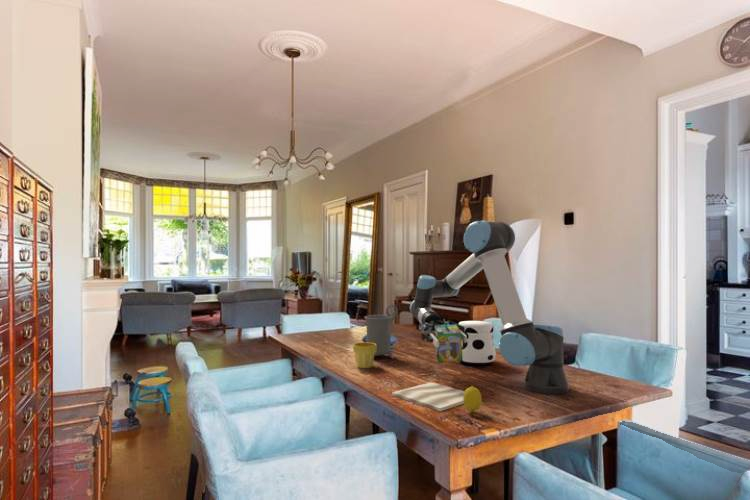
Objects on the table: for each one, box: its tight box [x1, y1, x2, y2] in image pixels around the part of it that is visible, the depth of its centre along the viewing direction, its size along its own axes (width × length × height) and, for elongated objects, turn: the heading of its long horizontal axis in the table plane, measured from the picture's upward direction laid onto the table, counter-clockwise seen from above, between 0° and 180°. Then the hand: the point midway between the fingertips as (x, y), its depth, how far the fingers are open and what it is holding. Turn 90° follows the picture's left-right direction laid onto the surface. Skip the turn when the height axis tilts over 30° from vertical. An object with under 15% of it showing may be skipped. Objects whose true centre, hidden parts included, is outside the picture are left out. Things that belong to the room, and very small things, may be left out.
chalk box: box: [434, 319, 462, 363], centre depth 174 cm, size 9×9×15 cm
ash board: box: [391, 381, 465, 412], centre depth 157 cm, size 22×20×1 cm
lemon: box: [463, 385, 483, 413], centre depth 141 cm, size 6×6×8 cm
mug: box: [363, 304, 398, 360], centre depth 221 cm, size 19×15×25 cm
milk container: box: [458, 320, 497, 366], centre depth 208 cm, size 17×17×18 cm
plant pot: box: [352, 341, 377, 369], centre depth 201 cm, size 10×10×10 cm
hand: (451, 341), depth 170 cm, fingers closed on chalk box, 11 cm apart
